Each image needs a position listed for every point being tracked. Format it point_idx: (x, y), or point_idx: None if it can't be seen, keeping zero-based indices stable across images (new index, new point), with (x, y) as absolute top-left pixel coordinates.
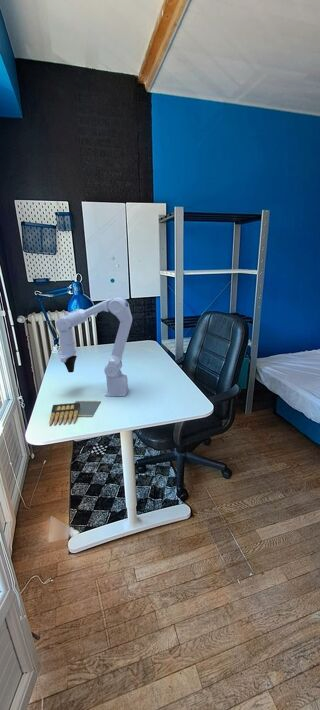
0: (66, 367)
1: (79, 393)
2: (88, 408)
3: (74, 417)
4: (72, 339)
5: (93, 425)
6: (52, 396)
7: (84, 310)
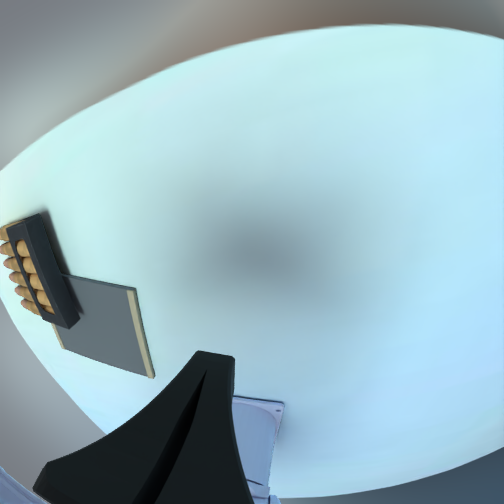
0: (159, 394)
1: (239, 288)
2: (92, 340)
3: (26, 306)
4: None
5: (39, 344)
6: (192, 118)
7: None
